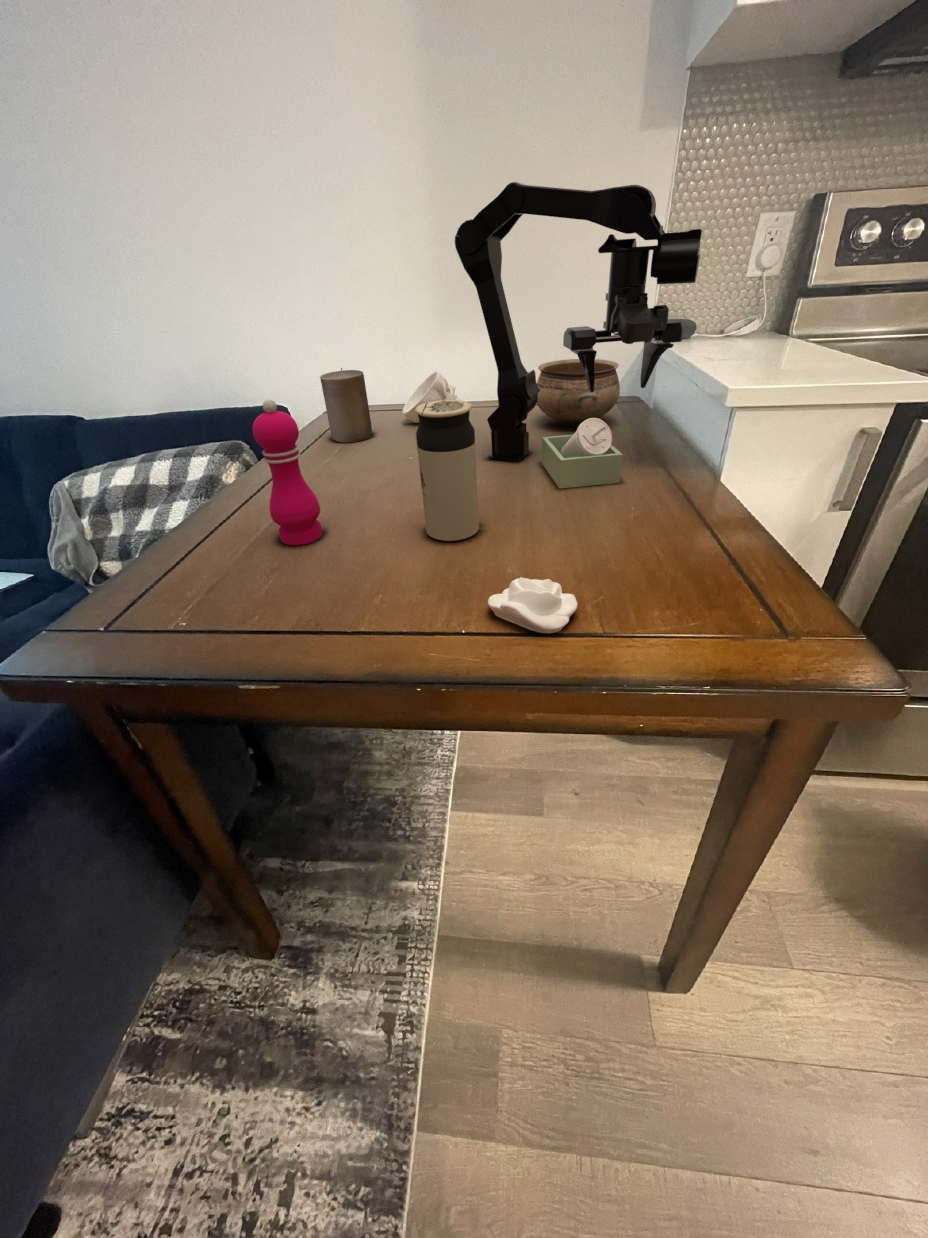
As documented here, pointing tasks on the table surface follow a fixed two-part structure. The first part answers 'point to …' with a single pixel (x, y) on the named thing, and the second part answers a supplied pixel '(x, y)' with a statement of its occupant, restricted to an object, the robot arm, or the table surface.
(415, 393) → the skull bowl
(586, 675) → the table surface
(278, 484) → the pepper mill
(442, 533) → the travel mug
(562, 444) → the bin
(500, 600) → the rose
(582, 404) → the cooking pot
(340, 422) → the pillar candle
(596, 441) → the smoothie
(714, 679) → the table surface
